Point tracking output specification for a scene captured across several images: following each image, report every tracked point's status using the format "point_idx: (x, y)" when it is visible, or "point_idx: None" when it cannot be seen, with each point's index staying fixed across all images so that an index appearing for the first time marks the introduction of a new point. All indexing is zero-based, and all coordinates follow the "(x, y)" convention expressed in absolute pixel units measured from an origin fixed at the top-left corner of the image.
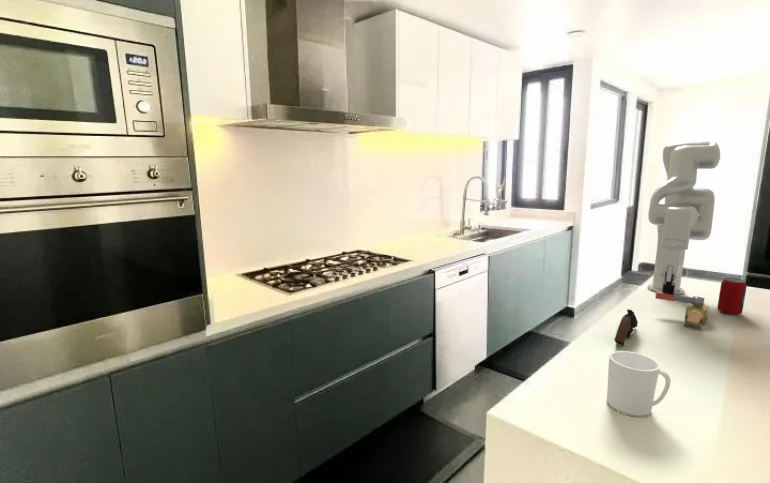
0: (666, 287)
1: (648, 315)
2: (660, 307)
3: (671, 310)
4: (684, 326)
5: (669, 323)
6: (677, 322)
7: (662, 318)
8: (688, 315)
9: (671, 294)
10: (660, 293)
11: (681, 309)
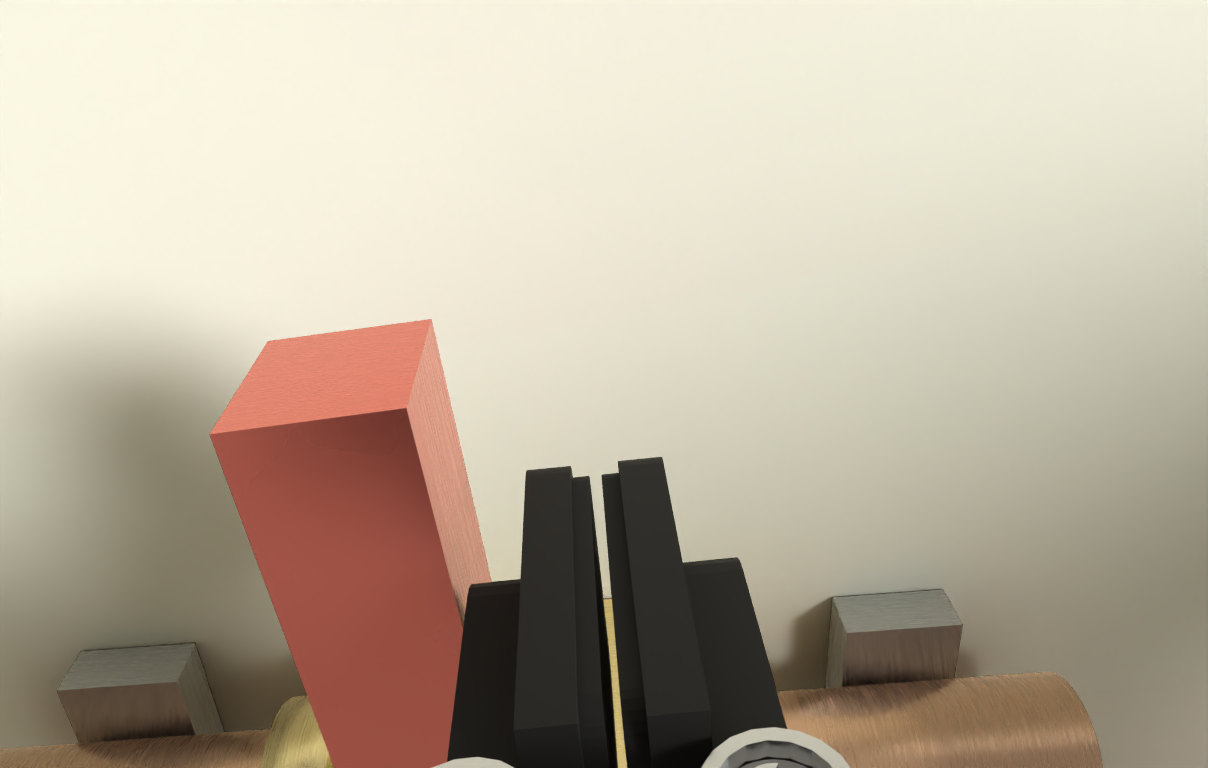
0: (455, 754)
1: (157, 154)
2: (930, 202)
3: (851, 383)
4: (84, 663)
5: (40, 502)
6: (214, 565)
7: (211, 376)
8: (272, 754)
9: (387, 740)
10: (251, 533)
11: (1028, 479)
